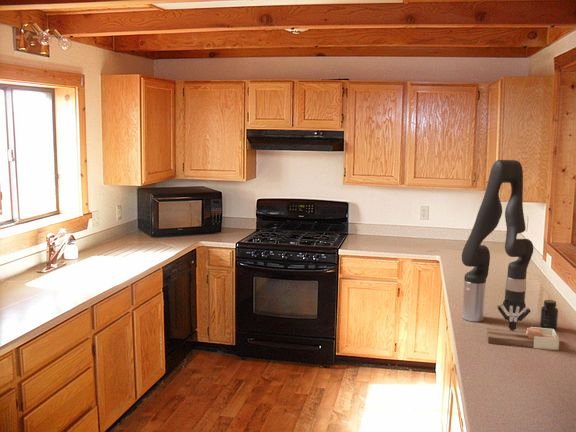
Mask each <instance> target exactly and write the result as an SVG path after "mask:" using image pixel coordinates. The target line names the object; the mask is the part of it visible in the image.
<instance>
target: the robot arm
mask: <svg viewBox="0 0 576 432" xmlns="http://www.w3.org/2000/svg"><path fill="white" fill-rule="evenodd" d="M504 183H505V184H510V189H511V190H510V191H511V193H510V197H509V199H508V202H507V204H506V206H505V212H504V219H505V225H506V235H505V243H504V251H505V253H506V254H507V256H509V257H511V258H517V259H516V260H514V261H510V262H509V263H508V264H507V276H506V282H505V289H504V290H505V291H504V300H503V301H502V304H500V305H499V304H498V305H497V307H496V308H497V310H498V312H500V314H501V315H502V317H503V318H504V320H506V321H508V325H507V326H508V330H509V329H510V330H511V331H515V330H517V324H518V322H522V321H523V320H524V319H525V318H526V317H527V316H528V315H529V314H530V313H531V309H530V308H529V307H527V305H526V302H525V301H526V290H527V270H528V267H529V264H530V261H531V259H532V256H533V253H534V244H533V242H532V240H530V239H529V238H517V236H518V234H522V233H524V232H526V230H527V229H526V222H525V214H524V208H523V207H524V206H523V205H524V204H523V203H524V202H523V198H524V197H523V195H524V172H523V166H522V163H521V162H520V161H518V160H516V159H515V160H514V159H498V160H495V161H494V163H493V164H492V165H491V169H490V173H489V177H488V180H487V184H486V189H485V191H484V196H483V197H482V198H483V199H482V201H481V204H480V207H479V209H478V211H477V215H476V218H475V221H474V224H473V227H472V229H471V232H470V233H469V236H468V238H467V240H466V243H465V245H464V247H463V249H462V252H461V262H462V264H463V265H464V266H466V267H473V268H472V269H471V270H469V271H467V272H466V273H465V274H464V279H463V280H464V281H463V296H462V297H463V298H462V307H461V309H462V310H461V318H462V320H465V321H469V322H482V321H484V316H485V315H484V314H485V303H486V302H485V301H486V285H487V278H488V276H489V269H490V261H491V253H490V250H489V248H488V247H487V245H485V244H482V243H483V241H484V240H486V238H487V237H488V236H489V235H491V233H492V232H493V231H494V230H495V229H496V228H497V227H498V226H499V223H500V220H501V218H502V215H503V206H502V205H503V204H502V202H501V200H500V199H501V198H500V196H499V195H500V190H501V186H502V184H504ZM504 310H506V311H507V312H508V315H507V314H506V312H505V311H504ZM522 311H523V312H522ZM520 313H521V314H520ZM519 314H520V315H519Z"/></svg>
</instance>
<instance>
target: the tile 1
mask: <svg viewBox="0 0 576 432" xmlns="http://www.w3.org/2000/svg"><path fill="white" fill-rule="evenodd" d="M525 332H526V334H527V336H528V338H532V339H534V336H536V337H542V335H543V334H542V333H541V331H540V330H536V329H532V328H530V327H527V328H526V331H525Z"/></svg>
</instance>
